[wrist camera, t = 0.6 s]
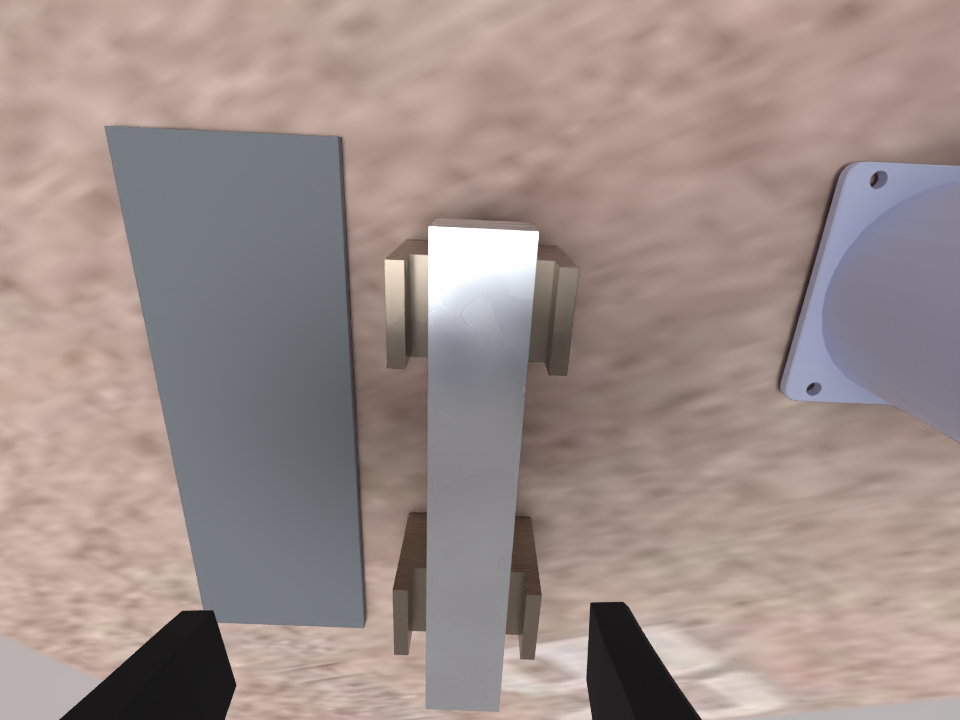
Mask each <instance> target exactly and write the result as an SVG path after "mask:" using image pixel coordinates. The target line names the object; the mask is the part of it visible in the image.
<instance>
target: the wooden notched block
mask: <svg viewBox="0 0 960 720" xmlns="http://www.w3.org/2000/svg"><path fill="white" fill-rule="evenodd" d="M578 274H579V268H578V267H577V266H576V265H575V264H574V263H573V262H572V261H571V260H570V259H569V257H568V256H567V255H566V254H565V253H564V252H563V251H562V250H561V249H560V248H559V247H558V246H541V245H538V249H537V261H536V273H535V285H534V297H533V308H532V320H531V332H530V344H529V356H528V362H545V364H546V368H547V371H548V374H549V375H557V376H567V370H568V362H569V353H570V344H571V335H572V327H573V318H574V309H575V301H576V292H577V283H578ZM428 281H429V240H408V239H407V240H406V241H405V242H404V243H402V244H401V245H400V246H399V247H398V248H397V249H396V250H395V251H394V252H392V253H391V254H390V255H389V256H388V257H387V258H386V259H385V298H386V338H387V368H392V369H405V368H406V366H407V363H408V361H409V358H410V356H411V357H428Z"/></svg>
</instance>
